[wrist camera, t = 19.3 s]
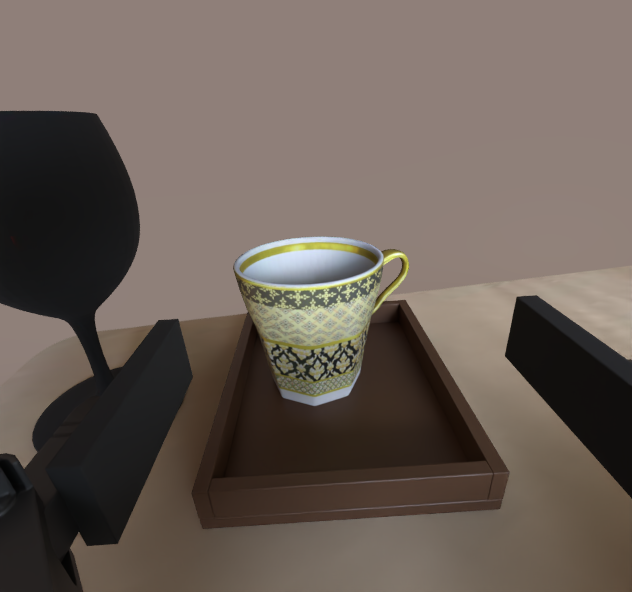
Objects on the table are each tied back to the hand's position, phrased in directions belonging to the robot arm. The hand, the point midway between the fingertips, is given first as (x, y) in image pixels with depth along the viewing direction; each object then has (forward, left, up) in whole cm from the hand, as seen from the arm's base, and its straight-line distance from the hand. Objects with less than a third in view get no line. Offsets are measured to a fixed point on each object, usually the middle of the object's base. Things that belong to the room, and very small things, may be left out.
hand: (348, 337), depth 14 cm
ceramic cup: (0, -11, -10) cm, 15 cm away
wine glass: (+17, -10, -11) cm, 22 cm away
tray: (0, -10, -11) cm, 15 cm away
